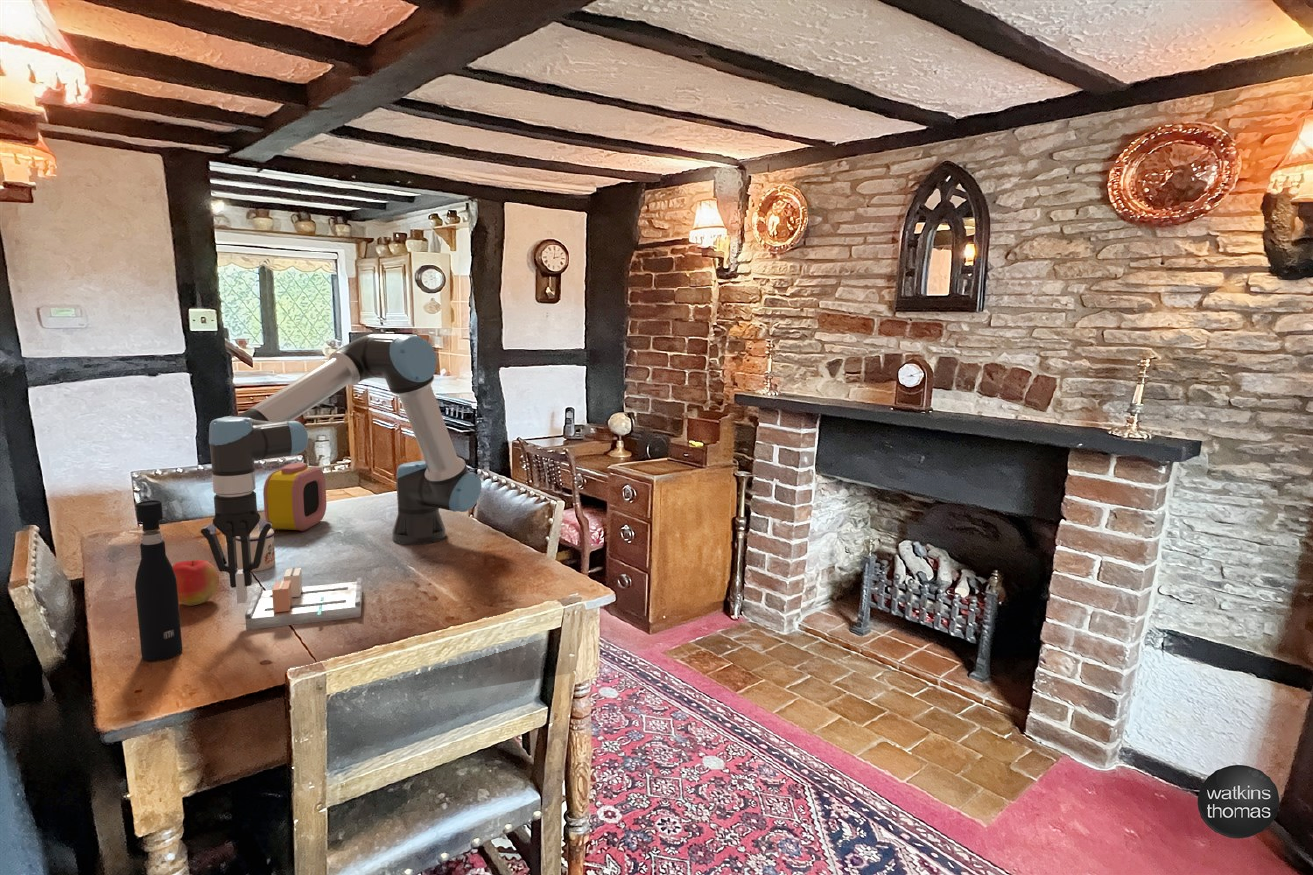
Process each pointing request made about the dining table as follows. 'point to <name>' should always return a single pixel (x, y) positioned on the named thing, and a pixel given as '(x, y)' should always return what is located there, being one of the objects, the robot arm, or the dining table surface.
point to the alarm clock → (295, 497)
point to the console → (307, 606)
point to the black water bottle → (156, 590)
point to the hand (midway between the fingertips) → (242, 600)
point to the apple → (195, 581)
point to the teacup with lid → (268, 552)
